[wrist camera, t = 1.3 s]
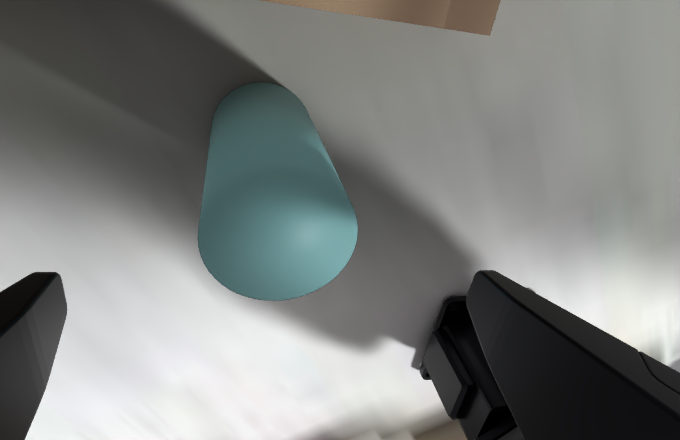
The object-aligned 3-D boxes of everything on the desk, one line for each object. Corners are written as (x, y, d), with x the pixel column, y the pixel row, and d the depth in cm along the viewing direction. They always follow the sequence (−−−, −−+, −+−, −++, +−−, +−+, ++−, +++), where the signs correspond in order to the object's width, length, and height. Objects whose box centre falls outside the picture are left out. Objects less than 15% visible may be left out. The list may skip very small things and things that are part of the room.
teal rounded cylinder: (317, 87, 17) (370, 171, 10) (305, 179, 19) (344, 299, 12) (212, 76, 16) (197, 161, 9) (211, 174, 18) (198, 302, 11)
